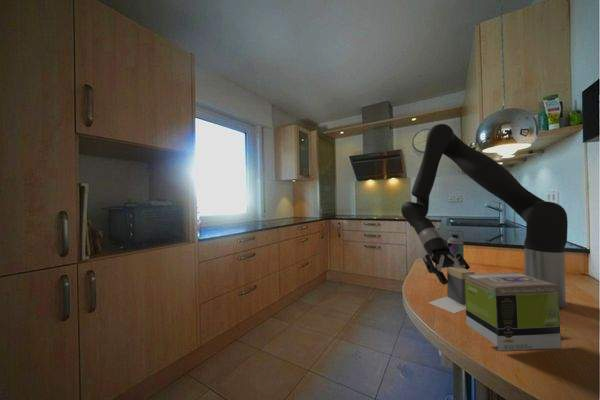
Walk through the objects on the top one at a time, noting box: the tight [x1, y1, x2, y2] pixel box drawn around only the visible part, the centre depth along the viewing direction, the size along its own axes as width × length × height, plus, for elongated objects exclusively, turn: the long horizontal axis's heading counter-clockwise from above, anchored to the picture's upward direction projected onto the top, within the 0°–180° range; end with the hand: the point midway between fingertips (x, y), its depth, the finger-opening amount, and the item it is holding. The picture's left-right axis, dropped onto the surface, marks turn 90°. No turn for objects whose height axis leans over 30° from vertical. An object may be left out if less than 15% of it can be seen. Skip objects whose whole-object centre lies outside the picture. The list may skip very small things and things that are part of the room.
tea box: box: [465, 272, 562, 352], centre depth 57 cm, size 15×10×15 cm, turn 92°
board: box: [427, 295, 466, 314], centre depth 74 cm, size 14×8×1 cm, turn 117°
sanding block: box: [446, 267, 475, 305], centre depth 76 cm, size 4×6×10 cm
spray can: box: [446, 233, 465, 265], centre depth 95 cm, size 6×6×20 cm
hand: (457, 283), depth 77 cm, fingers open, 8 cm apart
